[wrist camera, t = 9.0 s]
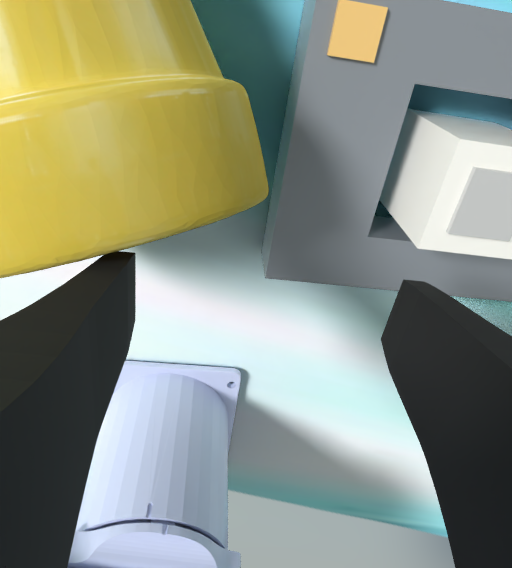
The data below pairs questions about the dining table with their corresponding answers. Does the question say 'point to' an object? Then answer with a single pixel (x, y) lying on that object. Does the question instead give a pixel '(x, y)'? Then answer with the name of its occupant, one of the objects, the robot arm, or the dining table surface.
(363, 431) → the dining table surface
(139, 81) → the plant pot
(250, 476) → the dining table surface
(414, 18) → the socket plate
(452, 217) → the plug block
